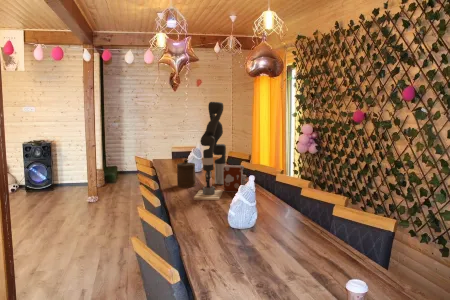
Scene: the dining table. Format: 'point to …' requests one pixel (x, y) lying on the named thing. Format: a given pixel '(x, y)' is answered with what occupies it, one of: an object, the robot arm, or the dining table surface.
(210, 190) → the lens barrel
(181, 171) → the wooden container
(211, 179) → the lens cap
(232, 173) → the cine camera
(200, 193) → the mount board
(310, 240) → the dining table surface
